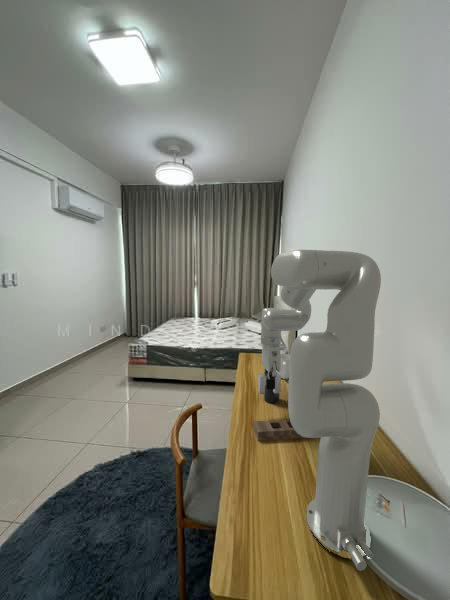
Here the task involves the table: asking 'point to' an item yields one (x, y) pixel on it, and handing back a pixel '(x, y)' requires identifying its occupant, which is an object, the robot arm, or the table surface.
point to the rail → (275, 430)
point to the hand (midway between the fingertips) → (269, 386)
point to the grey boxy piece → (263, 382)
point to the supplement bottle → (271, 396)
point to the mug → (284, 366)
